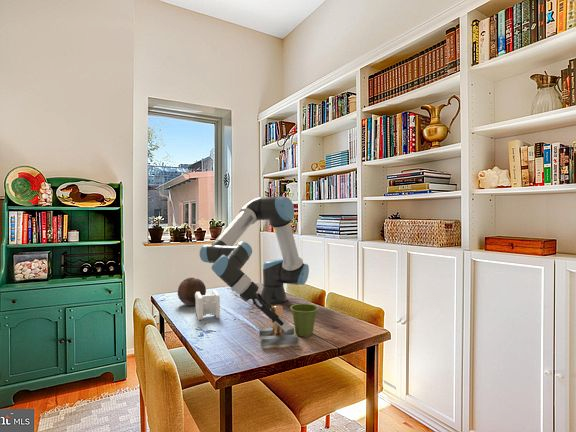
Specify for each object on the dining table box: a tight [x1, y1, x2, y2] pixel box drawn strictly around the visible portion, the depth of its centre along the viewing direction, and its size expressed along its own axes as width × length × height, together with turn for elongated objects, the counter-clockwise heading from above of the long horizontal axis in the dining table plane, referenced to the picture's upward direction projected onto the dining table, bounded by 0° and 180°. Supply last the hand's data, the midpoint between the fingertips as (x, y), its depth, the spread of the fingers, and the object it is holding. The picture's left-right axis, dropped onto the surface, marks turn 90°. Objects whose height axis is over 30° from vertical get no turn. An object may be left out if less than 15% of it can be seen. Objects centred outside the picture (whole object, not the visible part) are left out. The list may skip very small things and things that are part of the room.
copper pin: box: [271, 304, 284, 336], centre depth 138 cm, size 4×4×12 cm
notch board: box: [258, 326, 299, 350], centre depth 138 cm, size 14×12×4 cm
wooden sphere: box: [177, 277, 207, 306], centre depth 191 cm, size 15×15×15 cm
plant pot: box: [289, 303, 319, 338], centre depth 146 cm, size 12×12×11 cm
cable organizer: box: [195, 289, 221, 321], centre depth 171 cm, size 15×11×12 cm
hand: (287, 327), depth 139 cm, fingers closed on copper pin, 4 cm apart
